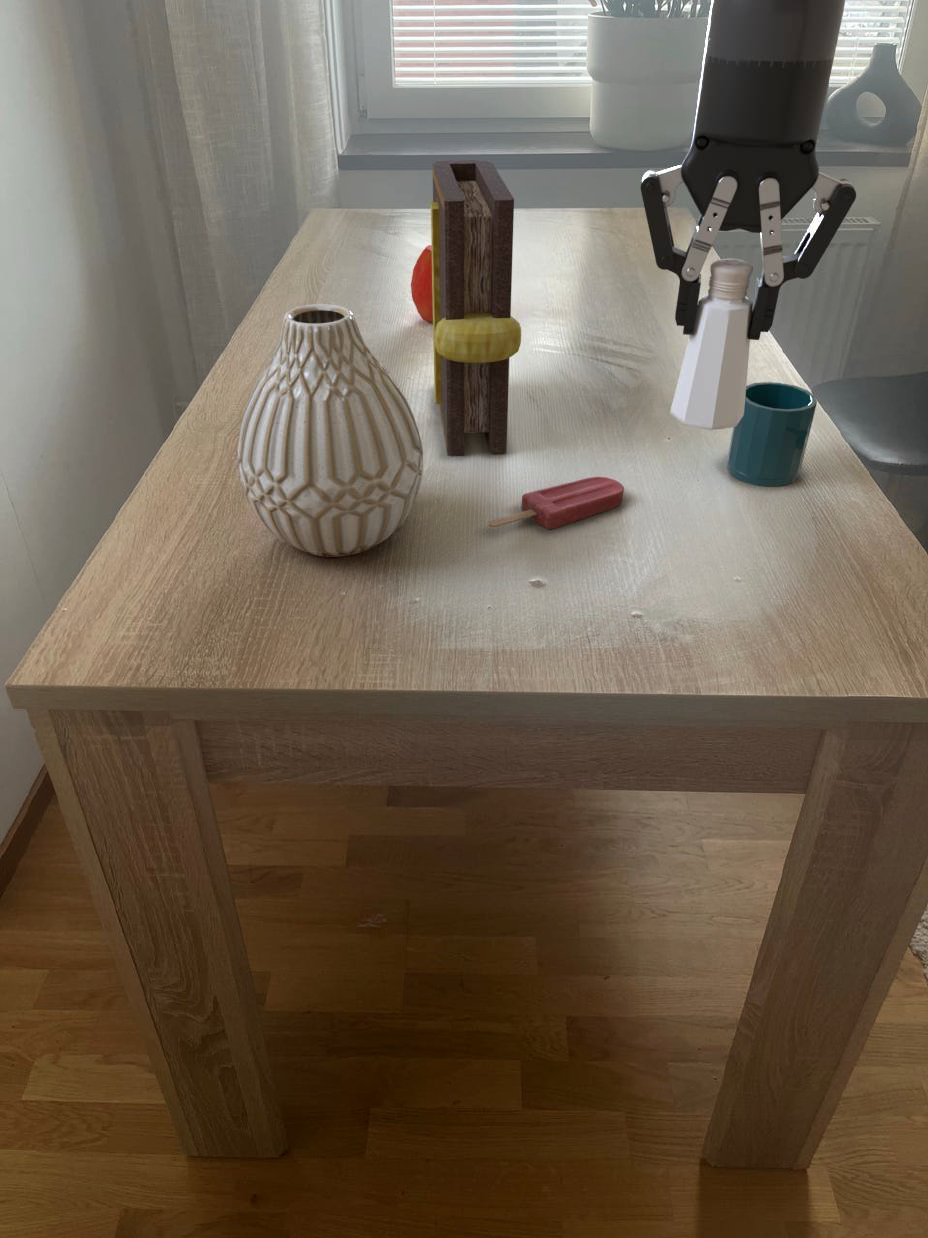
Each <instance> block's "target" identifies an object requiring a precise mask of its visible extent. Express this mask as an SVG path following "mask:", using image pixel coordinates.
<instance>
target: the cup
mask: <svg viewBox="0 0 928 1238" xmlns="http://www.w3.org/2000/svg"><path fill="white" fill-rule="evenodd" d="M817 400H818V399H817V397H816V395H815V394H813V393H812V392H810V391H809V390H808V389H805V388H802V387H800V386H798V385H793V384H789V383H784V382H773V381H765V382H764V381H761V382H753V383H750V384H748V385H747V384H746V395H745V407H744V415H743V417H742V418H741V420H740V421H739V423H738V425H737V426H736V427H732V431H731V435H730V442H729V445H728V451H727V459H726V460H727V461H726V470H727V471H728V473H729V474H730V475H731V476H733V477H734V478H735V479H737V480H739V481H742V482H744V483H747V484H751V485H754V486H761V487H781V486H786V485H790V484H792V483H794V482H796V481H797V480H798V478H799V476H800V472H801V470H802V468H803V467H802V466H803V462H804V460H805V459H804V458H805V455H806V450H807V445H808V441H809V438H810V433H811V429H812V425H813V420H814V418H815V417H814V416H815V412H816V408H817V404H818V401H817Z"/></svg>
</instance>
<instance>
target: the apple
mask: <svg viewBox="0 0 928 1238" xmlns="http://www.w3.org/2000/svg"><path fill="white" fill-rule="evenodd" d="M410 291H411V298H412V302H413V304H414V306H415V309H416V311H417V313H418V315H419V316H420V317H421V319H422V320H423V321H426V322H428V323H431V324H433V295H432V244H428V245H426V247H424V249H423V250H422V251H421V253H420V255H419V256H418V258H417V260H416V262H415V265H414V266H413V269H412V275H411V281H410Z"/></svg>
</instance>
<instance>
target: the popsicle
mask: <svg viewBox="0 0 928 1238" xmlns="http://www.w3.org/2000/svg"><path fill="white" fill-rule="evenodd" d="M624 492H625V487H624V486H623V484H622V482H620V481H618V480H616V479H613V478H611V477H606V476H593V477H587V478H583V479H579V480H574V481H569V482H566V483H562V484H558V485H554V486H551V487H546V488H542V489H538V490H534V491H529V492H525V493H523V494H522V495H521V511H519V512H517V513H513V514H510V515H507V516H503V517H500V518H497V519H496V518H495V519H493V520H490V521H489V522H488V524H487V525H488V527H490V528H497V527H501V526H504V525H508V524H511V523H515V522H518V521H522V520H525V519H528V518H531V519H533V520H534V521H536V522H537V523H538V524H540V526H542V527H543V528H545V529H546V530H553V529H556V528H559V527H561V526H565V525H567V524H570V523H573V522H576V521H579V520H582V519H585V518H587V517H588V518H589V517H591V516H593V515H597V514H599V513H603V512H606V511H607V510H608V511H609V510H611V509H615V508H616V507H618V506H619V505H621V504H622V502H623V499H624Z"/></svg>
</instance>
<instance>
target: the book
mask: <svg viewBox="0 0 928 1238" xmlns="http://www.w3.org/2000/svg"><path fill="white" fill-rule="evenodd" d="M514 213H515V197H513V195H512V193H511V192H510V189H509V188H508V187H507V185H506V183H505V182H504V180H503V178H502V176H501V175H500V173H499V172H498V170H497V168H496V167H495V164H494V163H493V162H490V161H487V160H479V159H478V160H476V159H467V160H466V159H464V160H463V159H462V160H459V159H458V160H455V159H454V160H441V161H435V162H434V163H432V201H430V232H431V233H430V234H431V237H430V238H431V240H430V241H431V243H430V245H432V295H433V323H432V339H433V342H432V343H433V344H432V345H433V346H432V347H433V388H434V389H433V390H434V391H433V392H434V399H435V405H438V408H439V414H440V420H441V426H442V432H443V438H444V443H445V449H446V456H448V457H462V456H464V455H465V434H474V433H477V434H478V433H484V435H485V439H486V443H487V447H488V453H489V454H490V455H505V454H506V453H507V451H508V450H507V449H508V420H509V419H508V417H509V415H508V414H509V412H508V411H509V386H510V385H509V381H510V380H509V379H510V376H509V375H510V358H511V357H513V356H515V355H516V354H517V353H518V352H519V351H520V347H521V344H522V326H521V323H520V322H519V320H517V319H516V318H515V317H514V316H512V315H511V314H512V313H511V312H512V283H513V282H512V281H513V280H512V279H513V253H514V252H513V247H514V219H515V218H514V216H515V215H514Z"/></svg>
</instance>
